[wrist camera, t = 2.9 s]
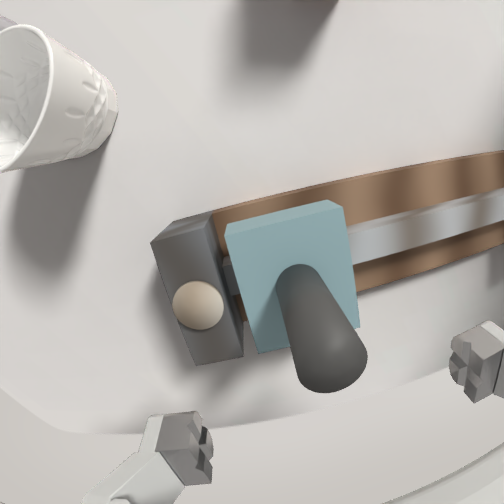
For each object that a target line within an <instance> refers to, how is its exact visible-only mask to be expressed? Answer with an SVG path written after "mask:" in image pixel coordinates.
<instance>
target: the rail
mask: <svg viewBox="0 0 504 504" xmlns="http://www.w3.org/2000/svg"><path fill="white" fill-rule="evenodd" d="M323 200H330V201H332V202H334V203H336V204H338V205H340V206H342V207H343V211H344V217H345V222H346V228H347V234H348V239H349V246H350V252H351V258H352V265H353V272H354V279H355V286H356V292H359V291H362V290H366V289H369V288H373V287H376V286H379V285H383V284H386V283H389V282H392V281H396V280H399V279H402V278H405V277H408V276H412V275H415V274H418V273H421V272H424V271H427V270H430V269H433V268H436V267H439V266H442V265H445V264H448V263H451V262H454V261H456V260H459V259H462V258H465V257H468V256H471V255H473V254H476V253H479V252H482V251H484V250H487V249H490V248H492V247H495V246H498V245H500V244H503V243H504V150H502V151H495V152H488V153H481V154H475V155H468V156H462V157H456V158H450V159H444V160H438V161H432V162H427V163H421V164H416V165H410V166H405V167H400V168H395V169H390V170H384V171H379V172H374V173H370V174H365V175H360V176H355V177H350V178H346V179H341V180H336V181H332V182H327V183H323V184H318V185H314V186H310V187H305V188H301V189H297V190H292V191H288V192H284V193H280V194H276V195H271V196H267V197H263V198H259V199H255V200H251V201H247V202H243V203H239V204H236V205H232V206H228V207H224V208H220V209H216V210H213V211H209V212H205V213H202V214H198V215H194V216H191V217H187V218H183V219H180V220H176V221H173V222H172V223H171V224H170V225H169V226H167V227H166V228H165V229H164V230H163V231H162V232H161V233H160V234H159V235H158V236H157V237H156V238H154V239H153V240H152V241H151V242H150V244H151V247H152V250H153V253H154V256H155V259H156V262H157V265H158V268H159V271H160V274H161V277H162V279H163V282H164V285H165V288H166V291H167V293H168V296H169V299H170V302H171V304H172V307H173V311H174V314H175V316H176V318H177V320H178V323H179V325H180V328H181V330H182V333H183V335H184V338H185V340H186V343H187V345H188V348H189V350H190V353H191V355H192V358H193V360H194V362H195V365H196V366H198V365H204V364H209V363H214V362H220V361H225V360H230V359H235V358H239V357H243V321H247V320H248V317H247V314H246V310H245V307H244V303H243V300H242V297H241V293H240V290H239V286H238V283H237V279H236V276H235V272H234V269H233V265H232V262H231V258H230V255H229V251H228V248H227V244H226V240H225V237H224V235H225V231H226V226H227V224H229V223H233V222H237V221H241V220H245V219H249V218H253V217H257V216H261V215H265V214H269V213H273V212H277V211H281V210H285V209H289V208H293V207H298V206H302V205H306V204H310V203H314V202H319V201H323Z"/></svg>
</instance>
